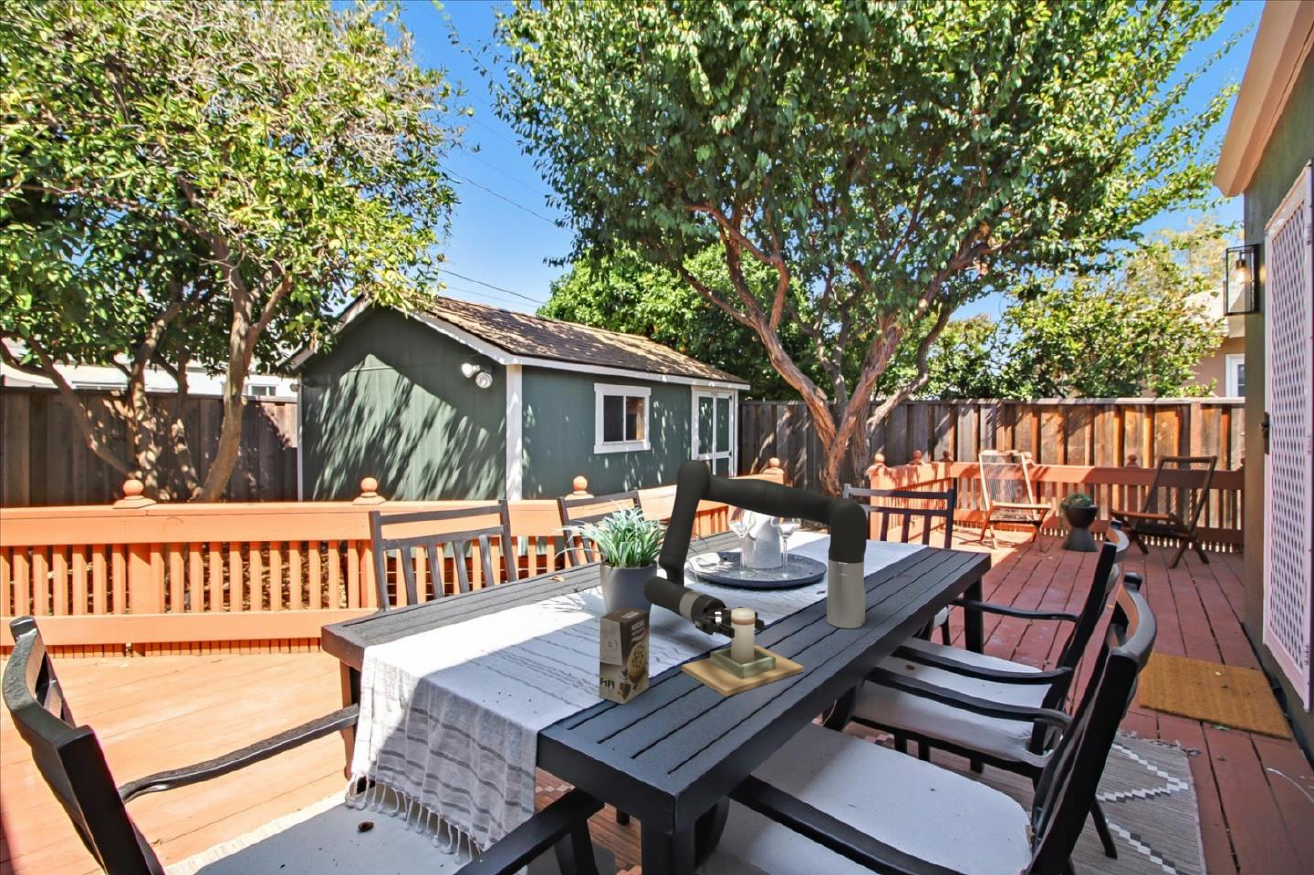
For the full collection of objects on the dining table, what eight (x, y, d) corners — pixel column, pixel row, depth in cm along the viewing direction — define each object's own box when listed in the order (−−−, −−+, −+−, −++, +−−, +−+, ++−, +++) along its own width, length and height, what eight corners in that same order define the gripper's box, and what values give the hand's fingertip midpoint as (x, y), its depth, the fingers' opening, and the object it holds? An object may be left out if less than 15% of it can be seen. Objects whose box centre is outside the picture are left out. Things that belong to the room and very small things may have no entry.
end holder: (756, 650, 152) (756, 634, 151) (803, 672, 139) (804, 655, 139) (681, 670, 139) (681, 653, 139) (725, 696, 127) (726, 678, 127)
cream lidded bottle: (743, 659, 143) (744, 606, 142) (759, 667, 138) (760, 612, 138) (725, 664, 140) (726, 610, 139) (741, 672, 136) (742, 617, 135)
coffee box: (624, 705, 123) (625, 623, 122) (598, 697, 126) (598, 617, 125) (650, 688, 131) (650, 610, 130) (624, 680, 134) (624, 605, 133)
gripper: (678, 598, 147) (723, 618, 133) (725, 589, 154) (773, 607, 141) (677, 631, 147) (722, 654, 133) (725, 620, 155) (772, 640, 141)
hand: (748, 629), depth 137 cm, fingers open, 8 cm apart
